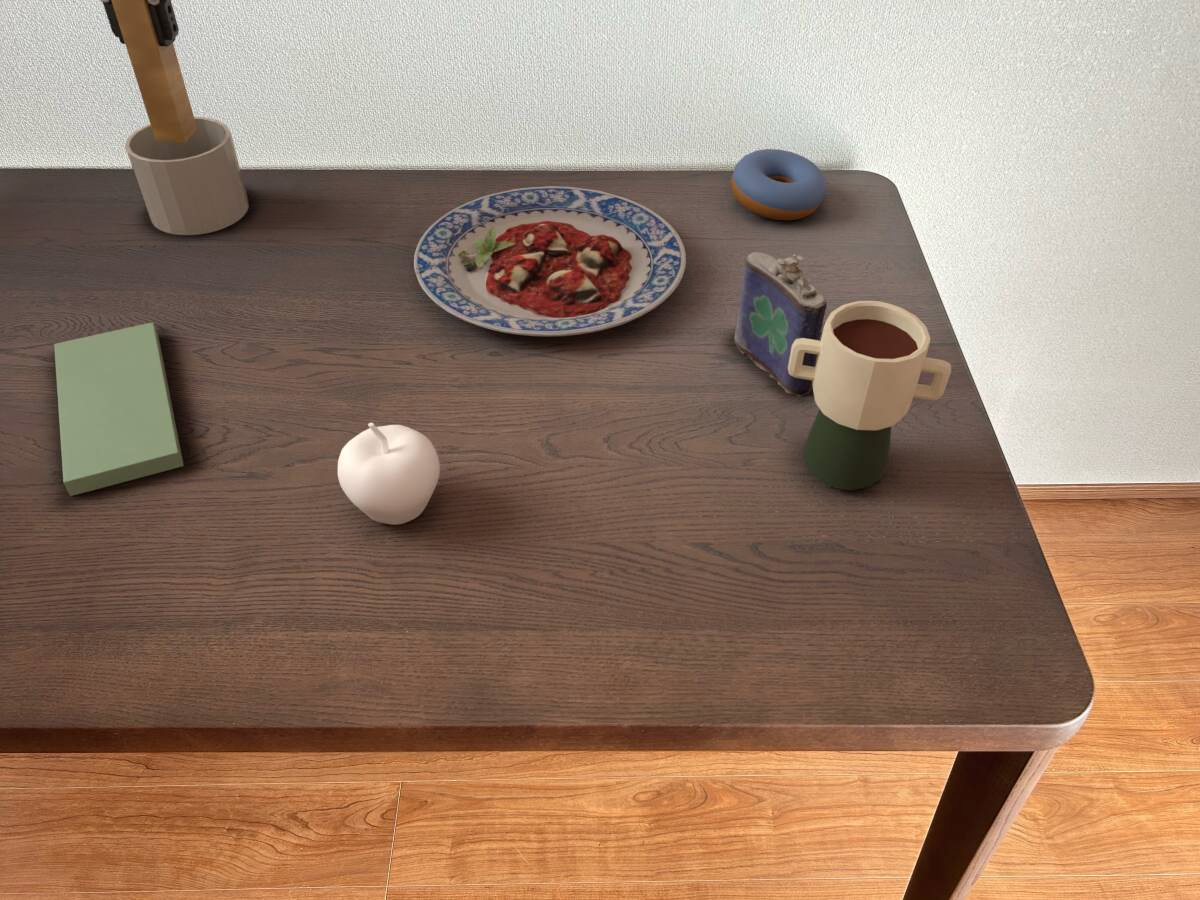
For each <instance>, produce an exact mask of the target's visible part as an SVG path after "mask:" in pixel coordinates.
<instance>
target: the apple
mask: <svg viewBox="0 0 1200 900" xmlns="http://www.w3.org/2000/svg"><path fill="white" fill-rule="evenodd" d="M367 426H368V427H369V428H367V429H365V430H363V431H361V432H360V433H358V434H357V435H356V436H354V437H353V438H351V439H350V440H349V441H348V442H347V443H346V444H345V445H344V446H343V447H342V449H341V451H340V453H339V457H338V460H337V479H338V482H339V486H340V488H341V490H342V491H343V493H344V494H345V495H346V497H347V499H349V501H350V502H351V503H352V504H353V505H354V506H355V507H356V508H357V509H359V510H360V511H361V513H364V515H366V516H367V517H368V518H370V519H371V520H372V521H374V522H377V523H380V524H386V525H392V526H393V525H395V526H399V525H403V524H407V523H408V522H411V521H413V520H415V519H417V518H418V517H419V516H421V514H422V513H423V512H424V510H425V509H426V508H427V506H428V503H429V501H430V499H431V497H432V496H433V493H434V492H435V489H436V487H437V485H438V482H439V479H440V473H441V463H440V458H439V455H438V451H437V449H436V447H435V446H434V445H433V443H432V441H431V440H430V439H429V438H428V437H427V436H426V435H425V434H423V433H421V432H419V431H418V430H416V429H414V428H411V427H409V426H405V425H402V424H388V425H380V426H379V425H378V426H376V425H375V424H374V422H368V424H367Z"/></svg>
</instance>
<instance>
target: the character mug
mask: <svg viewBox="0 0 1200 900" xmlns="http://www.w3.org/2000/svg"><path fill="white" fill-rule="evenodd" d="M930 344H931V335H930V333H929V330H928V328H927V326H926V325H925V324H924V323H923V322H922V321H921V320H920V319H919V317H918V316H916V315H915V314H913V313H911V312H910V311H908V310H906V309H905V308H904V307H903V308H902V307H901V306H898V305H895V304H892V303H888V302H884V301H879V300H878V301H876V300H857V301H852V302H849V303H844V304H842V305H840V306H839V307H837V308H836V309H834V310H832V311H831V312H830V314H829V315H828V317H827V319H826V320H825V323H824V325H823V327H822V332H821V337H820V340H812V339H806V338H800V339H796V340H795V341H794V342H793V344H792V347H791V353H790V358H789V363H788V372H789V374H790V375H791V376H793V377H795V378H800V379H807V380H812V384H811V387H812V390H813V398H814V403H815V405H816V406H817V407H818V409H819V410H818V412H817V414H816V417H815V419H814V421H813V424H812V426H811V428H810V431H809V433H808V436H807V438H806V442H805V444H804V446H803V450H802V453H803V460H804V464H805V466H806V467H807V468H808V469H809V471H810V472H811V473H812V475H813V476H814V477H815V478H816V479H818V480H819V481H821V482H823V483H825V484H826V485H828V486H830V487H831V488H837V489H841V490H847V491H853V490H859V489H864V488H869V487H870V486H872V485H874V484H875V483H876V482H878V481H879V480H880V479H882V477H883V475H884V473H885V470H886V468H887V465H888V459H889V453H890V445H891V435H892V427H893V426H896V424H897V423H898V422H900V421H901V420H902V419H903V418H904V417H905V416H906V415H907V413H908V412H909V410H910V408H911V405H912V402H913V400H914V398H916V399H922V400H929V401H938V400H940V398H941V397H942V396H943V395H944V393H945V390H946V389H947V384H948V382H949V379H950V376H951V372H952V364H951V363H950V362H948V361H946V360H944V359H939V358H932V357H927V353H928V350H929V347H930ZM805 352H806V353H812V354H817V356H816V363H815V367H811V366H805V365H802V363H803V358H804V353H805ZM922 372H924V373H925V372H926V373H932V374H934V376H933V379H932V382H931V385H928V384H922V383H919V380H920V377H921V374H922Z"/></svg>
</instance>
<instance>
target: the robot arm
mask: <svg viewBox="0 0 1200 900" xmlns="http://www.w3.org/2000/svg"><path fill="white" fill-rule="evenodd" d="M99 1H100V2H101V3H102V5H103V7H104V10H105V14H106V18H107V20H108V23H109V26H110V29H111V32H112V33H113V35H114V37H115V38H118V39H119V42H120V44H121V45H125V42H124V39H123V35H122V32H121V29H120V26H119V23H118V20H117V16H116V13H115V10H114V7H113V4H112V1H111V0H99ZM147 1H148V2H149V3H150V4H149V5H148V9H149V13H150V16H151V20H152V23H153V26H154V30H155V33H156V37H157V40H158V43H159V45H160V46H167V47H168V46H170V45H171V44H172V43H173V44H174V43H175V41H176V37H177V36H178V35H179V30H180V28H179V25H178V21H177V18H176V14H175V10H174V7H173V3H172V0H147Z"/></svg>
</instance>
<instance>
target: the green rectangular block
mask: <svg viewBox="0 0 1200 900" xmlns="http://www.w3.org/2000/svg"><path fill="white" fill-rule="evenodd" d="M53 347H54V348H53V349H54V361H55V363H54V364H55V377H56V378H55V379H56V390H57V391H56V392H57V405H58V407H57V408H58V419H59V421H58V422H59V436H60V450H61V451H60V452H61V467H62V480H63V481H62V483H63V484H64V486H65V488H66V490H67V492H68V494H69V496H70V497H74V496H77V495H80V494H84V493H88V492H92V491H96V490H100V489H103V488H108V487H111V486H114V485H118V484H122V483H125V482H126V483H127V482H129V481H134V480H138V479H141V478H145V477H148V476H152V475H155V474H160V473H164V472H167V471H171V470H174V469H178V468H182V467H184V460H183V456H182V449H181V445H180V440H179V434H178V430H177V424H176V419H175V414H174V409H173V405H172V404H173V403H172V399H171V394H170V388H169V384H168V377H167V373H166V368H165V363H164V358H163V353H162V347H161V343H160V337H159V334H158V331H157V328H156V325H155V323H154V322H153V321H152V322H147V323H143V324H138V325H134V326H130V327H125V328H121V329H120V328H119V329H116V330H115V329H114V330H111V331H107V332H103V333H102V332H101V333H97V334H93V335H88V336H83V337H79V338H74V339H70V340H66V341H61V342H57V343H54V344H53Z"/></svg>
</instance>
